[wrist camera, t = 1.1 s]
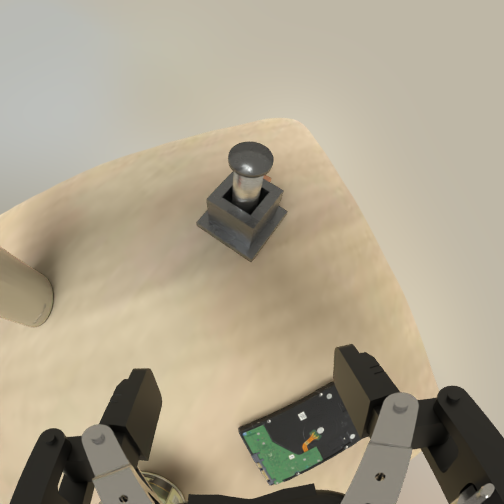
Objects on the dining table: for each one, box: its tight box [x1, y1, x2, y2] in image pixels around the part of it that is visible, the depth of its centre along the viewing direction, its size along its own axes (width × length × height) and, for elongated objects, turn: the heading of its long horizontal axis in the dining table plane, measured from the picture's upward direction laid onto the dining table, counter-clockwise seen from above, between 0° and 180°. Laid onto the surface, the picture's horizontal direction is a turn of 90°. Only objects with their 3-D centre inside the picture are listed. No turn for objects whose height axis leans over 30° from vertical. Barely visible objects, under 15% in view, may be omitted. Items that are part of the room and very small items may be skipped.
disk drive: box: [238, 382, 363, 485], centre depth 31 cm, size 10×3×15 cm
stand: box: [197, 171, 288, 262], centre depth 40 cm, size 10×10×7 cm
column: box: [228, 142, 273, 215], centre depth 36 cm, size 5×5×13 cm
